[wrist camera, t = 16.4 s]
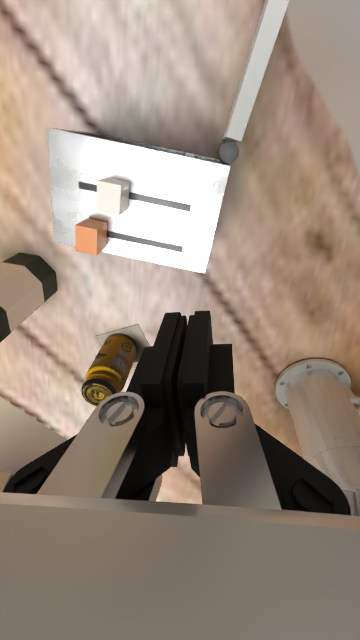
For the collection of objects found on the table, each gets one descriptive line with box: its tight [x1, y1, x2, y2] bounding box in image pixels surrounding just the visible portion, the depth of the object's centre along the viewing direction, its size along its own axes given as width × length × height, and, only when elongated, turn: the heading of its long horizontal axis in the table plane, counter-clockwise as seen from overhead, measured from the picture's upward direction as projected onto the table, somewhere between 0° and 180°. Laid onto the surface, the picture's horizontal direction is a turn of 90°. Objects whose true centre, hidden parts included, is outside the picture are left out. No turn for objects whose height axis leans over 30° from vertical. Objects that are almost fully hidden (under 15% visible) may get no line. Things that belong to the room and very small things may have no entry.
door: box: [218, 0, 289, 163], centre depth 24 cm, size 16×2×14 cm, turn 164°
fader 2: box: [96, 177, 130, 215], centre depth 25 cm, size 2×2×3 cm
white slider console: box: [48, 128, 231, 273], centre depth 32 cm, size 16×10×12 cm, turn 80°
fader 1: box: [75, 218, 107, 255], centre depth 27 cm, size 2×2×3 cm
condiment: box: [82, 325, 150, 406], centre depth 46 cm, size 7×8×12 cm
